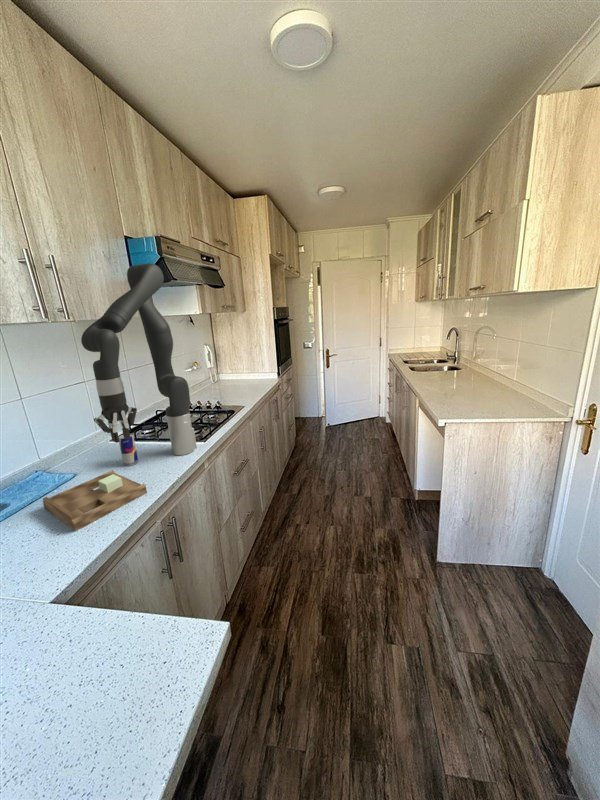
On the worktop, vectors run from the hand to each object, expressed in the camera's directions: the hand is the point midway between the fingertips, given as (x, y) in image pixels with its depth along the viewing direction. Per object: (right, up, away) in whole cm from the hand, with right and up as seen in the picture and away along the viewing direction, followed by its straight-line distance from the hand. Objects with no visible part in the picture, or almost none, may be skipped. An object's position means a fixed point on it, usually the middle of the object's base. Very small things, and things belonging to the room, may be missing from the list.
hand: (121, 440), depth 110 cm
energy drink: (-8, -12, +21) cm, 25 cm away
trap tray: (-5, -19, -4) cm, 21 cm away
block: (-3, -16, -1) cm, 16 cm away
